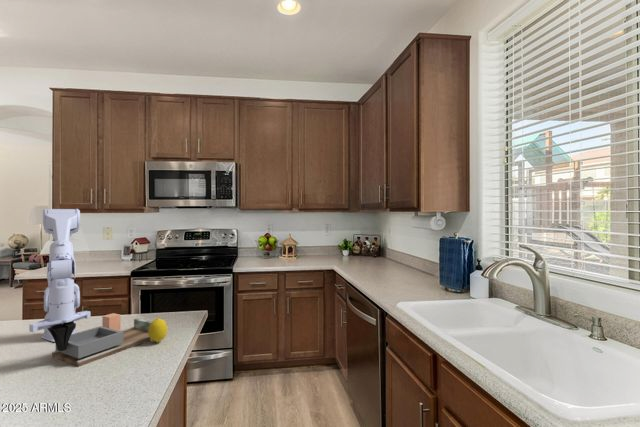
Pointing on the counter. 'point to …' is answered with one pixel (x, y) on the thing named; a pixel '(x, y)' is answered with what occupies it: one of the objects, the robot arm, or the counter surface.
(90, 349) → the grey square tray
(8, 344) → the counter surface
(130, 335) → the track
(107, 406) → the counter surface
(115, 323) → the block
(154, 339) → the lemon
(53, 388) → the counter surface
